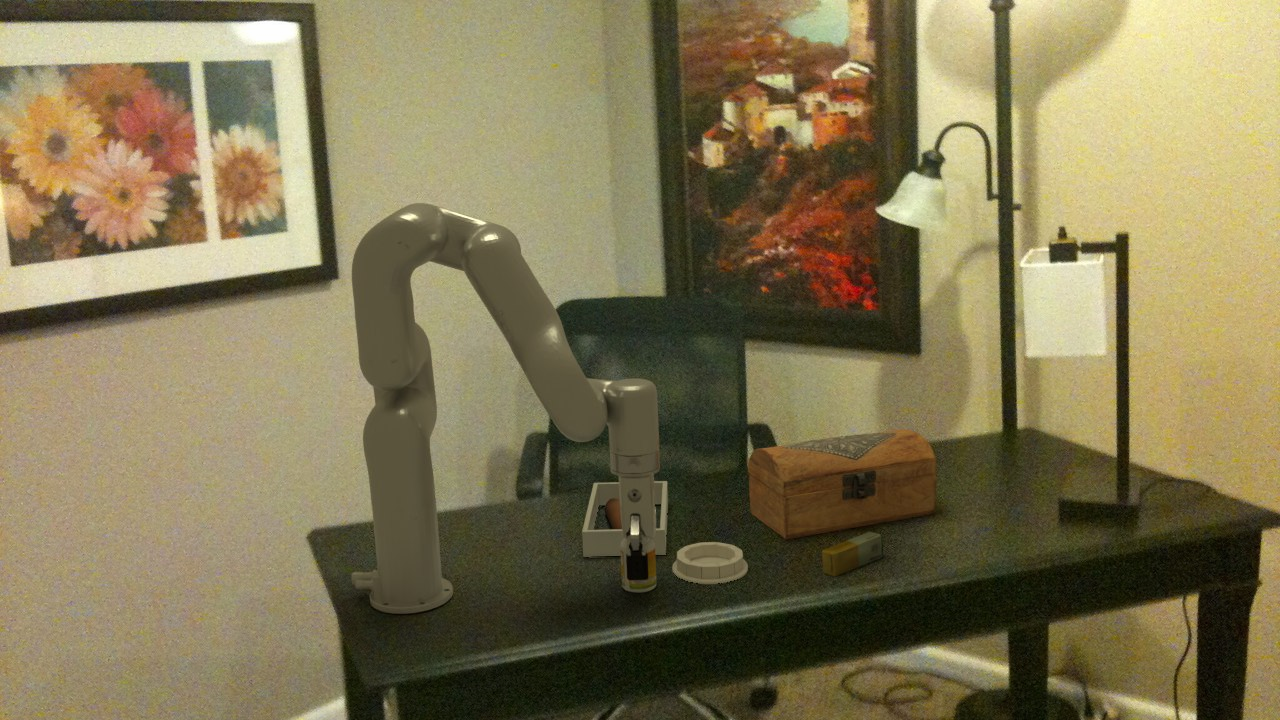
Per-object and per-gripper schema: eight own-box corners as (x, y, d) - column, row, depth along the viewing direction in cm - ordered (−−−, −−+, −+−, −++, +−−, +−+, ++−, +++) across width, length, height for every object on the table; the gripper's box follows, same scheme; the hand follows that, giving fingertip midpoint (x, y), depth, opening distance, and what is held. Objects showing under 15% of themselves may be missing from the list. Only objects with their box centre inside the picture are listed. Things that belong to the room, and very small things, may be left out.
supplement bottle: (663, 585, 186) (661, 526, 184) (639, 596, 182) (637, 536, 180) (639, 576, 190) (636, 518, 187) (614, 587, 186) (612, 528, 184)
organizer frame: (583, 557, 198) (582, 531, 197) (594, 505, 223) (593, 482, 222) (665, 555, 198) (664, 530, 197) (667, 504, 223) (667, 481, 222)
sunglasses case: (669, 544, 203) (648, 514, 201) (635, 568, 202) (613, 537, 201) (649, 509, 220) (630, 481, 218) (617, 531, 220) (598, 503, 218)
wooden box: (786, 543, 202) (785, 464, 199) (747, 512, 217) (746, 438, 214) (941, 518, 211) (943, 442, 208) (893, 490, 226) (894, 419, 223)
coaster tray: (672, 585, 186) (671, 569, 185) (672, 556, 197) (672, 541, 197) (749, 583, 185) (749, 567, 185) (745, 554, 197) (745, 539, 196)
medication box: (871, 553, 196) (871, 529, 195) (884, 557, 194) (884, 533, 193) (821, 573, 189) (820, 549, 188) (834, 577, 187) (833, 553, 186)
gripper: (658, 477, 173) (662, 588, 177) (660, 444, 190) (664, 545, 194) (606, 479, 173) (611, 589, 177) (613, 445, 190) (618, 546, 194)
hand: (639, 566), depth 185 cm, fingers open, 9 cm apart
